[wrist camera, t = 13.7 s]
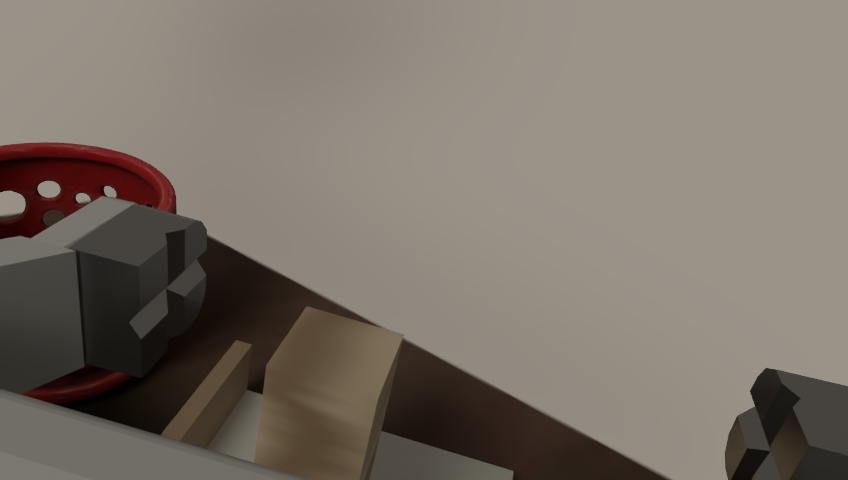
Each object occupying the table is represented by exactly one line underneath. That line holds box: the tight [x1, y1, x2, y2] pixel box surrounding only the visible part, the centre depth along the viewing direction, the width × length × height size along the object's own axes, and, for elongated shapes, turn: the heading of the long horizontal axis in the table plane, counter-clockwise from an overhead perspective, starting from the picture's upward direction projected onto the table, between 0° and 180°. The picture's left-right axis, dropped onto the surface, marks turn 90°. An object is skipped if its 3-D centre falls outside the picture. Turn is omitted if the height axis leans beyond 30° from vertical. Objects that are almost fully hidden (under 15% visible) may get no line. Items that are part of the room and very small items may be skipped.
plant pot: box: [0, 143, 176, 404], centre depth 40 cm, size 13×13×12 cm
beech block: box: [254, 307, 404, 480], centre depth 31 cm, size 4×4×12 cm
